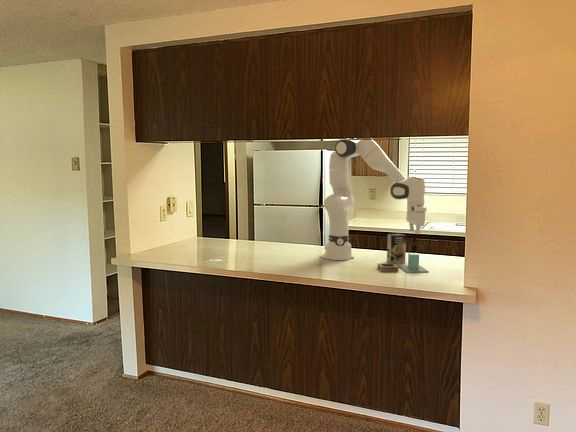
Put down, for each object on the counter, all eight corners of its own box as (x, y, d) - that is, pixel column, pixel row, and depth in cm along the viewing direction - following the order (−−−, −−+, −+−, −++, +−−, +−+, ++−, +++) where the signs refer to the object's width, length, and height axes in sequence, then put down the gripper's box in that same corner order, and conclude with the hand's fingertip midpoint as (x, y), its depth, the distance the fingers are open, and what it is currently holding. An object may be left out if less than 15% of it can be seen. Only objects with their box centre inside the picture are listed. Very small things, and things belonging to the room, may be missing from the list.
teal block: (407, 267, 267) (408, 253, 266) (416, 267, 268) (416, 253, 267) (410, 269, 263) (410, 254, 262) (418, 269, 263) (419, 254, 262)
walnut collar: (377, 268, 269) (377, 263, 268) (393, 267, 269) (393, 263, 269) (381, 271, 260) (381, 267, 260) (398, 271, 260) (398, 267, 260)
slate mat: (398, 266, 272) (398, 265, 272) (420, 266, 273) (420, 265, 272) (406, 272, 258) (406, 271, 258) (428, 272, 259) (428, 271, 259)
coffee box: (390, 263, 281) (391, 235, 279) (386, 260, 287) (387, 233, 285) (405, 262, 283) (406, 235, 281) (401, 260, 289) (401, 233, 287)
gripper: (404, 204, 271) (403, 229, 273) (415, 208, 251) (414, 235, 253) (415, 204, 272) (414, 229, 273) (427, 208, 251) (426, 235, 253)
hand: (414, 232), depth 263 cm, fingers open, 8 cm apart
